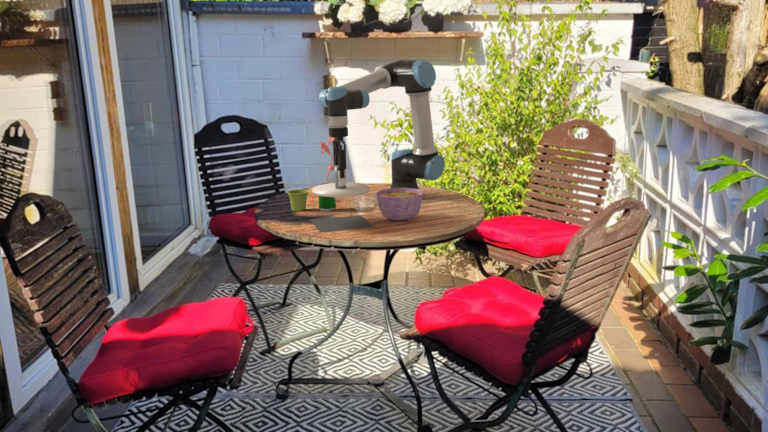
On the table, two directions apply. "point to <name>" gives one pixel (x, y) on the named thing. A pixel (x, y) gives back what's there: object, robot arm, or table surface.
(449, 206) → the table surface
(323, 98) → the robot arm
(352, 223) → the mat
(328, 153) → the red flower stem
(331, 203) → the soda can
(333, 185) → the lid
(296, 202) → the plant pot
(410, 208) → the bowl of food
